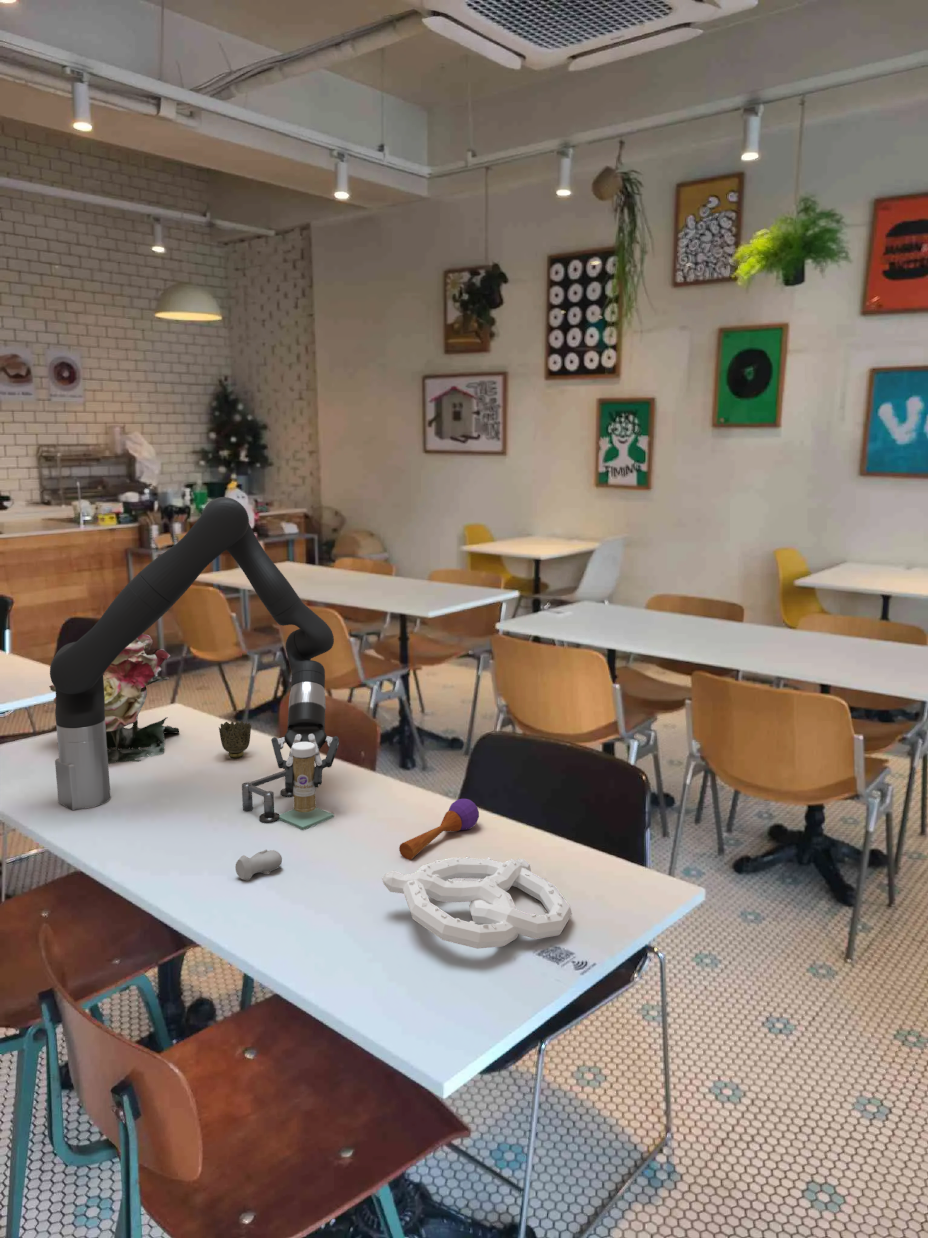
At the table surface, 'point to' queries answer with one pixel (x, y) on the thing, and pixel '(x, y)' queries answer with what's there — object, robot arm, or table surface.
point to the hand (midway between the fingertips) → (303, 786)
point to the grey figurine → (258, 863)
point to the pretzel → (480, 900)
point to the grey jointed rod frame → (250, 787)
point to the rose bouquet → (132, 702)
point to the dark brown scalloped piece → (235, 738)
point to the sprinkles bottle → (303, 776)
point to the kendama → (443, 827)
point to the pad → (305, 818)
